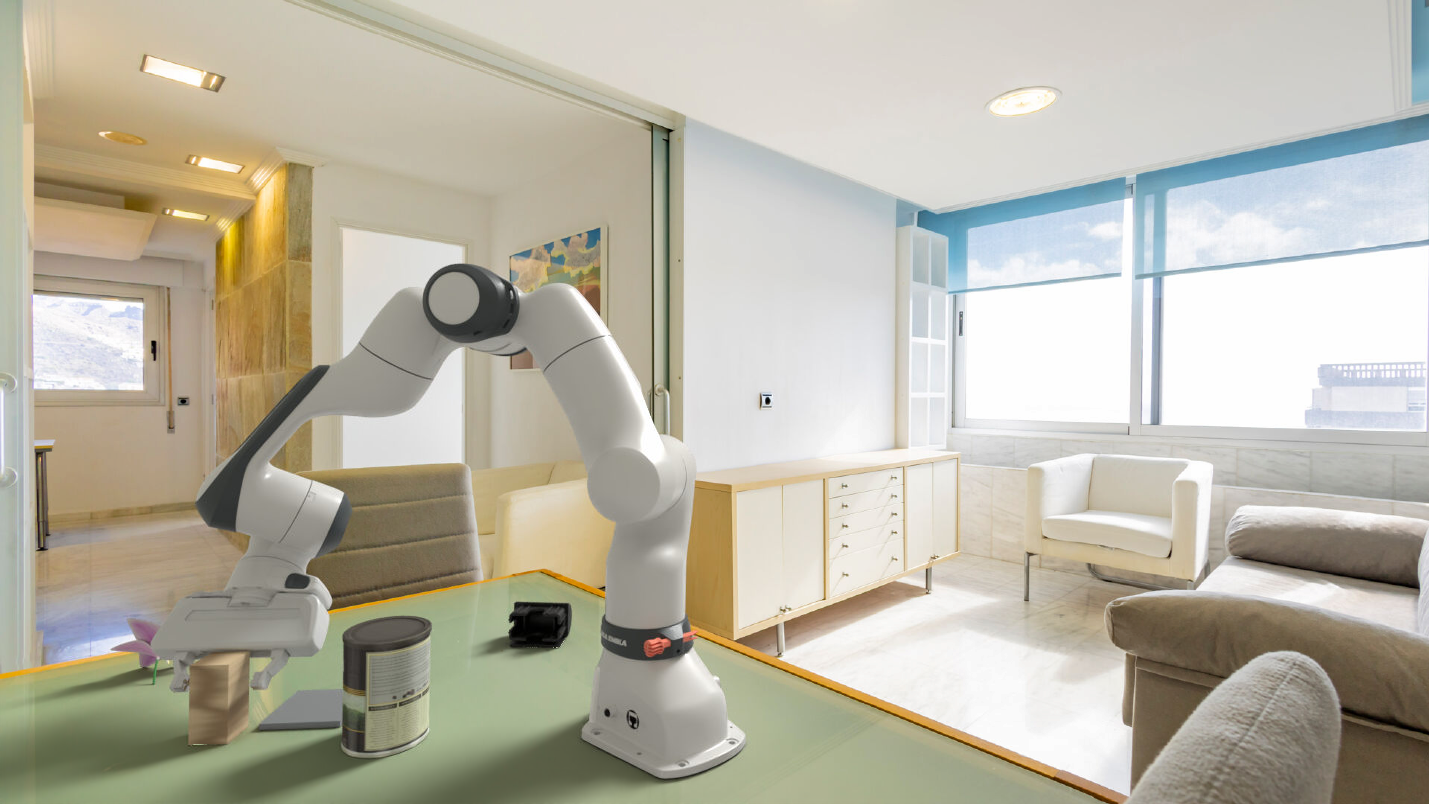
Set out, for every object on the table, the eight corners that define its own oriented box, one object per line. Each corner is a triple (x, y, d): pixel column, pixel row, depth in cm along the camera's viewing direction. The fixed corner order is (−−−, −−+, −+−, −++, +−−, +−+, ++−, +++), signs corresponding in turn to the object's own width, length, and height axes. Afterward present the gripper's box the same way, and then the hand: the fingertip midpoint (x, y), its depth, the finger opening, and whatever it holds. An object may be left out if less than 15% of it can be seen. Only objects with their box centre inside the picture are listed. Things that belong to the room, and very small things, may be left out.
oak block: (248, 726, 87) (249, 651, 87) (227, 744, 82) (228, 664, 82) (211, 728, 86) (212, 652, 86) (188, 746, 82) (189, 665, 82)
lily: (227, 673, 105) (229, 613, 109) (163, 672, 95) (167, 606, 98) (155, 696, 105) (159, 635, 109) (82, 697, 94) (90, 630, 98)
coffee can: (322, 758, 80) (324, 641, 79) (369, 717, 90) (371, 614, 90) (405, 761, 79) (407, 644, 79) (443, 719, 89) (445, 616, 89)
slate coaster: (370, 693, 97) (370, 688, 97) (340, 727, 87) (340, 721, 87) (298, 695, 96) (298, 690, 96) (258, 730, 86) (259, 723, 86)
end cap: (571, 634, 123) (572, 598, 123) (562, 649, 116) (562, 610, 116) (518, 633, 123) (519, 597, 123) (505, 647, 116) (506, 609, 116)
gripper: (172, 580, 90) (115, 682, 80) (330, 578, 92) (293, 677, 83) (194, 602, 94) (141, 701, 85) (344, 600, 97) (310, 696, 87)
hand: (218, 689), depth 84 cm, fingers open, 8 cm apart
